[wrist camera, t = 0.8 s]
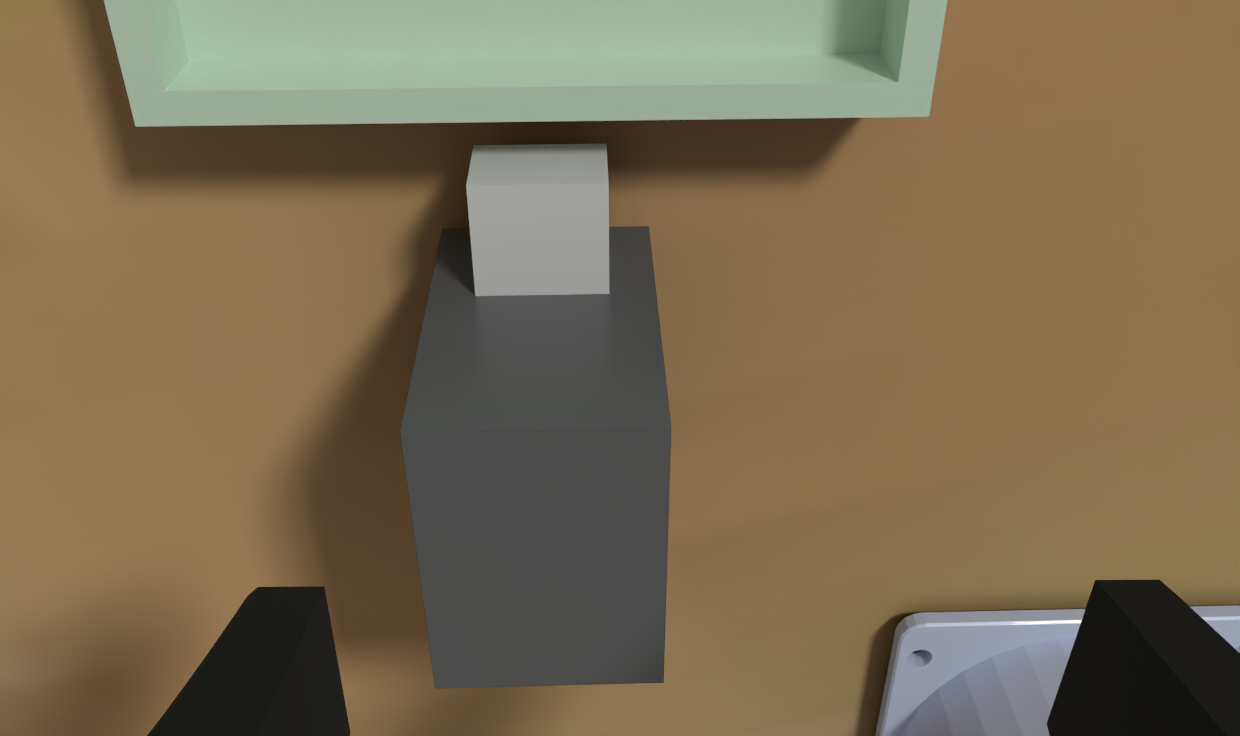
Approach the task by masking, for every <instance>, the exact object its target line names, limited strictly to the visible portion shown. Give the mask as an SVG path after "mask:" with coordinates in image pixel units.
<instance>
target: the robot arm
mask: <svg viewBox="0 0 1240 736" xmlns="http://www.w3.org/2000/svg"><path fill="white" fill-rule="evenodd" d="M918 650H921V651H920V652H915V653H913V652H914V651H918ZM147 736H350V729H349V723H348V717H347V712H346V706H345V700H344V695H343V689H342V684H341V678H340V672H339V667H338V661H337V655H336V650H335V644H334V639H333V633H332V627H331V622H330V616H329V611H328V605H327V599H326V594H325V588H324V587H257V588H256V589H255V590H254V591H253V592H252V593H251V594H249V595H248V596H247V598H246V599H245V601H244V602H243V604H242V605H241V606H240V608H239V609H238V611H237V612H236V614H235V615H234V617H233V618H232V620H231V621H230V623H229V624H228V626H227V627H226V628H225V630H224V631H223V633H222V634H221V636H220V637H219V639H218V640H217V641H216V643H215V644H214V646H213V647H212V649H211V650H210V651H209V653H208V654H207V656H206V657H205V659H204V660H203V661H202V663H201V664H200V666H199V667H198V668H197V670H196V671H195V672H194V674H193V675H192V677H191V678H190V679H189V681H188V682H187V683H186V685H185V686H184V688H183V689H182V690H181V692H180V693H179V694H178V696H177V697H176V698H175V700H174V701H173V703H172V704H171V705H170V707H169V708H168V709H167V711H166V712H165V713H164V715H163V716H162V717H161V719H160V720H159V721H158V722H157V724H156V725H155V726H154V728H153V729H152V730H151V731H150V733H149V734H148V735H147ZM875 736H1240V605H1234V606H1190V607H1189V606H1188V605H1187V604H1186V603H1185V602H1184V601H1183V600H1182V599H1181V598H1180V597H1178V596H1177V595H1176V594H1175V593H1174V592H1173V591H1172V590H1170V589H1169V588H1168V587H1167V586H1166V585H1165V584H1164V583H1163V582H1161V581H1160V580H1095V583H1094V586H1093V589H1092V592H1091V595H1090V598H1089V601H1088V604H1087V606H1086V609H1058V610H1014V611H969V612H925V613H916V614H912V615H910V616H907V617H905V618H904V619H903V620H902V621H901V622H900V623H899V624H898V626H897V628H896V630H895V635H894V640H893V645H892V650H891V656H890V661H889V666H888V671H887V676H886V682H885V687H884V692H883V697H882V703H881V708H880V713H879V718H878V723H877V729H876V734H875Z"/></svg>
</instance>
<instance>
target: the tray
mask: <svg viewBox="0 0 1240 736" xmlns="http://www.w3.org/2000/svg"><path fill="white" fill-rule="evenodd" d="M104 4H105V8H106V12H107V16H108V20H109V24H110V27H111V31H112V35H113V39H114V43H115V47H116V51H117V55H118V59H119V63H120V67H121V71H122V75H123V79H124V83H125V87H126V91H127V95H128V99H129V103H130V107H131V111H132V115H133V119H134V123H135V127H143V126H224V125H305V124H386V123H468V122H549V121H630V120H711V119H792V118H873V117H929V113H930V107H931V101H932V94H933V88H934V82H935V75H936V69H937V63H938V56H939V50H940V44H941V37H942V31H943V25H944V18H945V12H946V6H947V0H104Z"/></svg>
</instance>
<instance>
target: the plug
mask: <svg viewBox="0 0 1240 736" xmlns="http://www.w3.org/2000/svg"><path fill="white" fill-rule="evenodd" d="M466 191H467V203H468V215H469V227H470V229H442V233H441V238H440V243H439V248H438V252H437V257H436V262H435V267H434V271H433V276H432V281H431V286H430V291H429V295H428V300H427V305H426V310H425V314H424V319H423V324H422V329H421V334H420V338H419V343H418V348H417V353H416V358H415V362H414V367H413V372H412V377H411V381H410V386H409V391H408V396H407V401H406V405H405V410H404V415H403V420H402V425H401V429H400V435H401V443H402V450H403V457H404V465H405V472H406V479H407V487H408V494H409V501H410V508H411V516H412V523H413V530H414V538H415V545H416V552H417V560H418V567H419V574H420V581H421V589H422V596H423V603H424V611H425V618H426V625H427V633H428V640H429V647H430V654H431V662H432V669H433V676H434V684H435V688H473V687H513V686H552V685H591V684H631V683H663V682H664V649H665V616H666V583H667V550H668V516H669V483H670V450H671V420H670V411H669V402H668V393H667V384H666V376H665V367H664V358H663V349H662V340H661V331H660V322H659V313H658V305H657V296H656V287H655V278H654V269H653V260H652V251H651V242H650V234H649V226H643V227H609V181H608V162H607V144H536V145H473V151H472V156H471V161H470V167H469V172H468V178H467V183H466Z"/></svg>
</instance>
